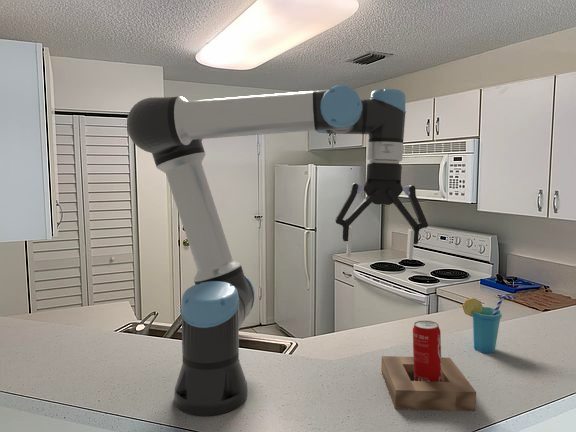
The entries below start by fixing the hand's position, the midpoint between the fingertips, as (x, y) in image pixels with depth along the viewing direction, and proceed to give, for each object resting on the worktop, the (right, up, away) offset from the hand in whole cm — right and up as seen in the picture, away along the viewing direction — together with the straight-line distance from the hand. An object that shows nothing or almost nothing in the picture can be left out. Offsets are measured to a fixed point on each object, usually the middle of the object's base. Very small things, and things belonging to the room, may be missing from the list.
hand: (378, 257), depth 99 cm
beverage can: (+10, -29, -3) cm, 31 cm away
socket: (+9, -29, -3) cm, 31 cm away
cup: (+33, -27, +19) cm, 47 cm away
